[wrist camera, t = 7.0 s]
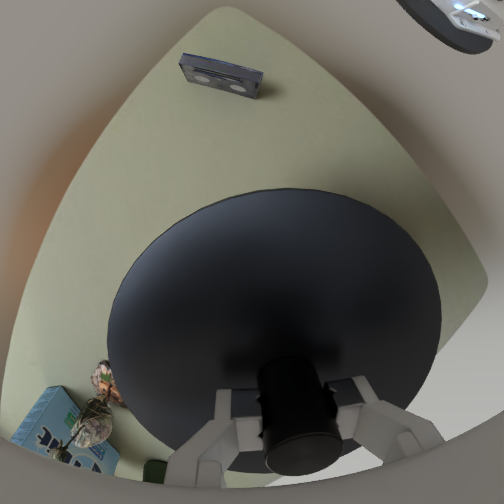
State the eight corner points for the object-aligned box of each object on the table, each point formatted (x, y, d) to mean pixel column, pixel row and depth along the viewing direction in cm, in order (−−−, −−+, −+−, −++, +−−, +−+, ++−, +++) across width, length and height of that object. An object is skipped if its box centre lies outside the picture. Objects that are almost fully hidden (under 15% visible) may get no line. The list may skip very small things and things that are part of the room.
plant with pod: (81, 391, 38) (31, 474, 19) (103, 353, 36) (41, 450, 17) (120, 417, 40) (85, 507, 20) (149, 384, 38) (110, 492, 18)
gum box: (47, 387, 38) (-12, 469, 16) (63, 384, 38) (2, 475, 16) (104, 455, 43) (74, 537, 20) (122, 455, 42) (94, 543, 20)
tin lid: (444, 192, 10) (535, 206, 5) (392, 435, 14) (423, 493, 9) (91, 201, 10) (-1, 220, 5) (156, 456, 13) (140, 524, 8)
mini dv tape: (259, 88, 29) (264, 70, 23) (255, 99, 30) (259, 83, 24) (192, 70, 28) (183, 50, 22) (187, 81, 29) (178, 62, 23)
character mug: (191, 474, 44) (186, 525, 31) (169, 481, 45) (161, 528, 32) (149, 449, 42) (135, 502, 29) (129, 457, 43) (114, 505, 30)
